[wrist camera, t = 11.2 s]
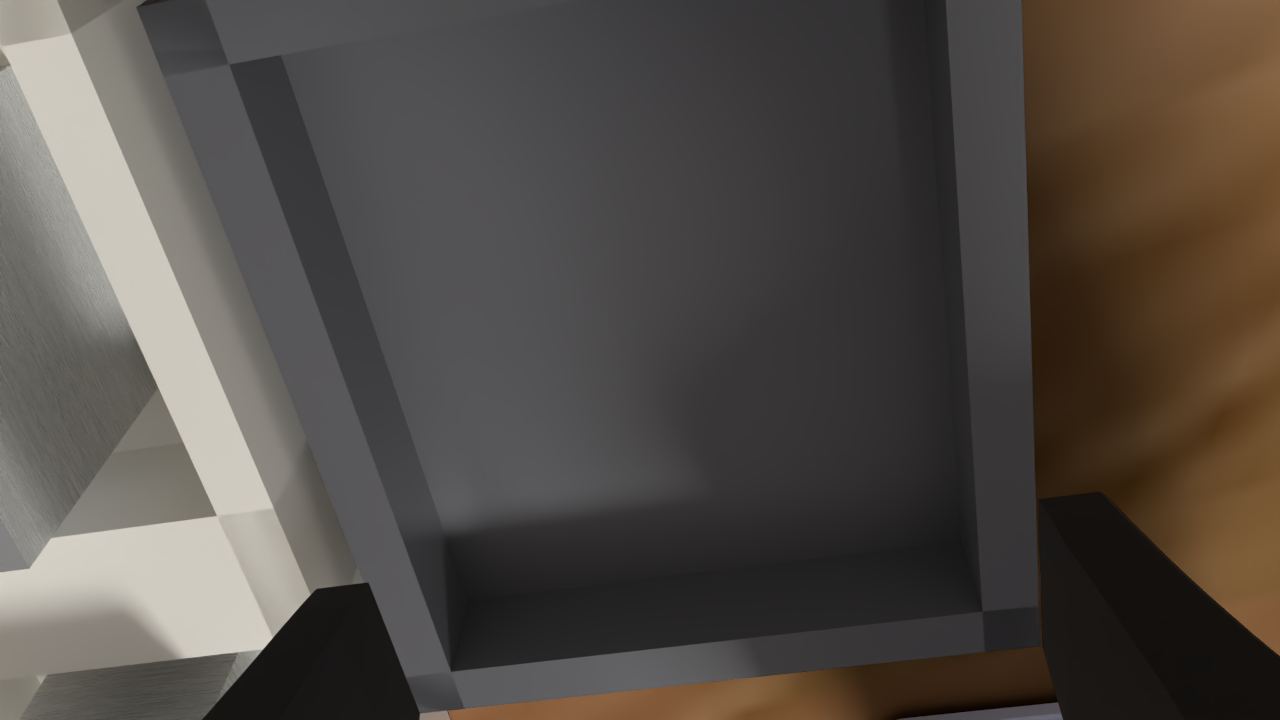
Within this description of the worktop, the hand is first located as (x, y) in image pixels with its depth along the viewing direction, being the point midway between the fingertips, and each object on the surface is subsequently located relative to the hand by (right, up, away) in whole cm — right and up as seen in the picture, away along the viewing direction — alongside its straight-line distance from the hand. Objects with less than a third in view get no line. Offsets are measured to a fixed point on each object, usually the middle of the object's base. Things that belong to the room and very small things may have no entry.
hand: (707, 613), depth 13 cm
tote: (0, +4, +9) cm, 10 cm away
